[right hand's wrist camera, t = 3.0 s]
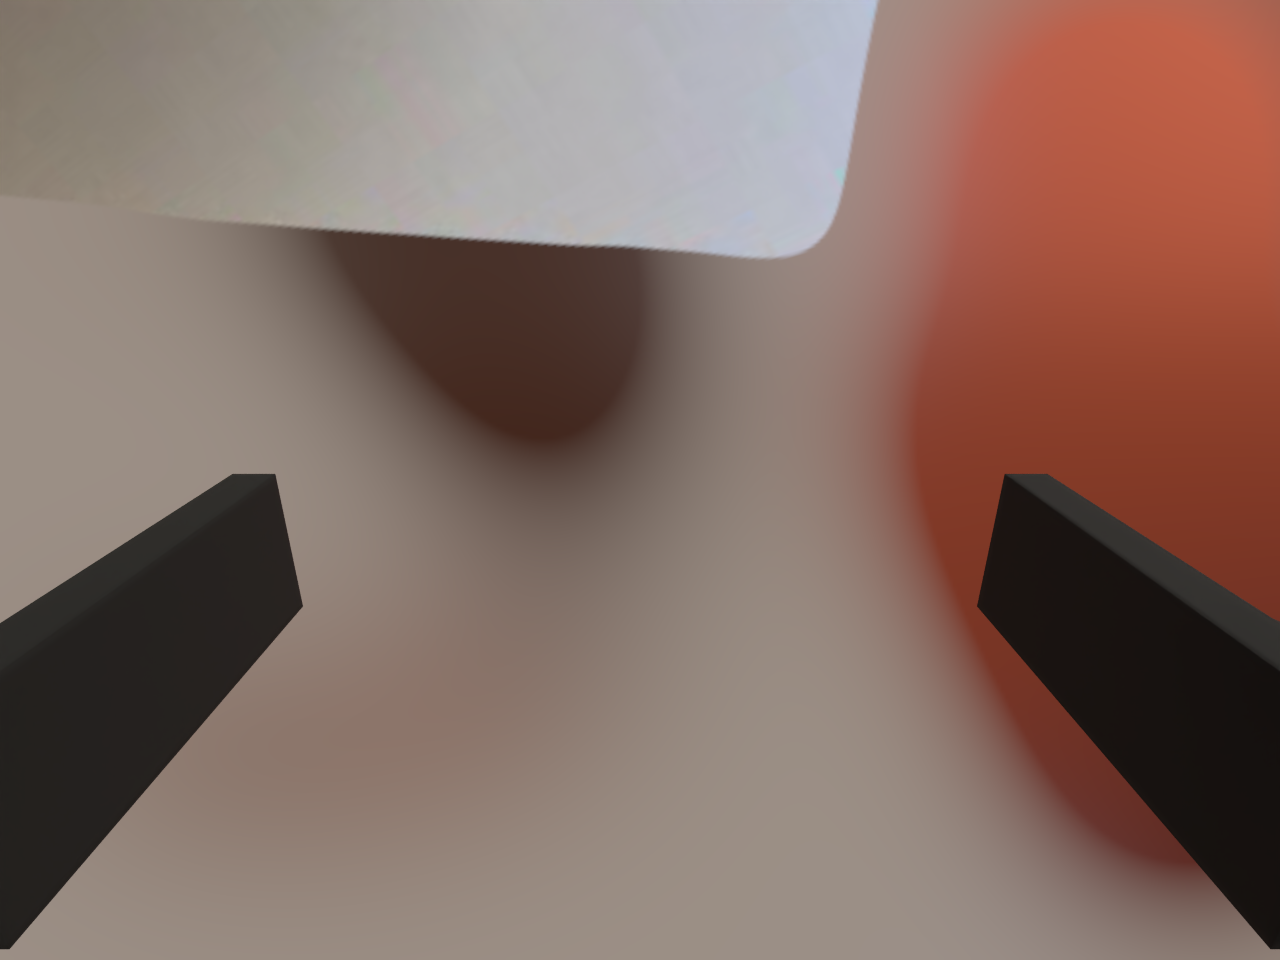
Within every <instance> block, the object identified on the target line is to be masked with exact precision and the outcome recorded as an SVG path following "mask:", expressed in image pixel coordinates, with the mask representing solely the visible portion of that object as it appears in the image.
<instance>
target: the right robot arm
mask: <svg viewBox="0 0 1280 960" xmlns="http://www.w3.org/2000/svg"><path fill="white" fill-rule="evenodd" d="M302 607H303V605H302V600H301V595H300V590H299V585H298V581H297V576H296V571H295V566H294V562H293V557H292V552H291V547H290V542H289V538H288V533H287V528H286V523H285V518H284V514H283V509H282V504H281V500H280V495H279V490H278V485H277V480H276V475H275V474H232V475H230V476H229V477H227V478H226V479H224V480H223V481H221V482H220V483H218V484H216V485H215V486H213V487H212V488H210V489H209V490H207V491H205V492H204V493H202V494H201V495H199V496H198V497H196V498H195V499H193V500H191V501H190V502H188V503H187V504H185V505H184V506H182V507H181V508H179V509H177V510H176V511H174V512H173V513H171V514H170V515H168V516H166V517H165V518H163V519H162V520H160V521H159V522H157V523H156V524H154V525H152V526H151V527H149V528H148V529H146V530H145V531H143V532H142V533H140V534H138V535H137V536H135V537H134V538H132V539H131V540H129V541H128V542H126V543H124V544H123V545H121V546H120V547H118V548H117V549H115V550H114V551H112V552H111V553H109V554H107V555H106V556H104V557H103V558H101V559H100V560H98V561H96V562H95V563H93V564H92V565H90V566H89V567H87V568H86V569H84V570H82V571H81V572H79V573H78V574H76V575H75V576H73V577H72V578H70V579H69V580H67V581H65V582H64V583H62V584H61V585H59V586H57V587H56V588H54V589H53V590H51V591H50V592H48V593H47V594H45V595H43V596H42V597H40V598H39V599H37V600H36V601H34V602H33V603H31V604H30V605H28V606H26V607H25V608H23V609H22V610H20V611H19V612H17V613H15V614H14V615H12V616H11V617H9V618H8V619H6V620H5V621H3V622H1V623H0V949H10V948H11V947H12V946H13V944H14V943H15V942H16V941H17V940H18V939H19V937H20V936H21V935H22V934H23V933H24V932H25V930H26V929H27V928H28V927H29V926H30V924H31V923H32V922H33V921H34V920H35V919H36V918H37V916H38V915H39V914H40V913H41V912H42V911H43V909H44V908H45V907H46V906H47V905H48V904H49V902H50V901H51V900H52V899H53V898H54V897H55V895H56V894H57V893H58V892H59V891H60V889H61V888H62V887H63V886H64V885H65V884H66V882H67V881H68V880H69V879H70V878H71V877H72V875H73V874H74V873H75V872H76V871H77V870H78V868H79V867H80V866H81V865H82V864H83V863H84V861H85V860H86V859H87V858H88V857H89V856H90V854H91V853H92V852H93V851H94V850H95V849H96V847H97V846H98V845H99V844H100V843H101V842H102V840H103V839H104V838H105V837H106V836H107V835H108V833H109V832H110V831H111V830H112V829H113V828H114V826H115V825H116V824H117V823H118V822H119V821H120V819H121V818H122V817H123V816H124V815H125V814H126V812H127V811H128V810H129V809H130V808H131V807H132V805H133V804H134V803H135V802H136V801H137V799H138V798H139V797H140V796H141V795H142V794H143V793H144V791H145V790H146V789H147V788H148V787H149V786H150V784H151V783H152V782H153V781H154V780H155V778H156V777H157V776H158V775H159V774H160V773H161V771H162V770H163V769H164V768H165V767H166V766H167V764H168V763H169V762H170V761H171V760H172V759H173V757H174V756H175V755H176V754H177V753H178V752H179V750H180V749H181V748H182V747H183V746H184V745H185V743H186V742H187V741H188V740H189V739H190V738H191V736H192V735H193V734H194V733H195V732H196V731H197V729H198V728H199V727H200V726H201V725H202V724H203V722H204V721H205V720H206V719H207V718H208V717H209V715H210V714H211V713H212V712H213V711H214V710H215V708H216V707H217V706H218V705H219V704H220V703H221V701H222V700H223V699H224V698H225V697H226V696H227V694H228V693H229V692H230V691H231V690H232V689H233V687H234V686H235V685H236V684H237V683H238V682H239V680H240V679H241V678H242V677H243V676H244V675H245V673H246V672H247V671H248V670H249V669H250V668H251V666H252V665H253V664H254V663H255V662H256V660H257V659H258V658H259V657H260V656H261V655H262V653H263V652H264V651H265V650H266V649H267V648H268V646H269V645H270V644H271V643H272V642H273V641H274V639H275V638H276V637H277V636H278V635H279V634H280V632H281V631H282V630H283V629H284V628H285V627H286V625H287V624H288V623H289V622H290V621H291V620H292V618H293V617H294V616H295V615H296V614H297V613H298V611H299V610H300V609H301V608H302ZM977 607H978V608H979V609H980V610H981V611H982V613H983V614H984V615H985V616H986V617H987V618H988V620H989V621H990V622H991V623H992V624H993V625H994V627H995V628H996V629H997V630H998V631H999V632H1000V634H1001V635H1002V636H1003V637H1004V638H1005V639H1006V641H1007V642H1008V643H1009V644H1010V645H1011V646H1012V648H1013V649H1014V650H1015V651H1016V652H1017V653H1018V655H1019V656H1020V657H1021V658H1022V659H1023V660H1024V662H1025V663H1026V664H1027V665H1028V666H1029V667H1030V669H1031V670H1032V671H1033V672H1034V673H1035V675H1036V676H1037V677H1038V678H1039V679H1040V680H1041V682H1042V683H1043V684H1044V685H1045V686H1046V687H1047V689H1048V690H1049V691H1050V692H1051V693H1052V694H1053V696H1054V697H1055V698H1056V699H1057V700H1058V701H1059V703H1060V704H1061V705H1062V706H1063V707H1064V708H1065V710H1066V711H1067V712H1068V713H1069V714H1070V715H1071V717H1072V718H1073V719H1074V720H1075V721H1076V722H1077V724H1078V725H1079V726H1080V727H1081V728H1082V729H1083V730H1084V732H1085V733H1086V734H1087V735H1088V736H1089V738H1090V739H1091V740H1092V741H1093V742H1094V743H1095V745H1096V746H1097V747H1098V748H1099V749H1100V750H1101V752H1102V753H1103V754H1104V755H1105V756H1106V757H1107V759H1108V760H1109V761H1110V762H1111V763H1112V764H1113V766H1114V767H1115V768H1116V769H1117V770H1118V771H1119V773H1120V774H1121V775H1122V776H1123V777H1124V778H1125V780H1126V781H1127V782H1128V783H1129V784H1130V786H1131V787H1132V788H1133V789H1134V790H1135V791H1136V792H1137V794H1138V795H1139V796H1140V797H1141V798H1142V800H1143V801H1144V802H1145V803H1146V804H1147V805H1148V807H1149V808H1150V809H1151V810H1152V811H1153V812H1154V814H1155V815H1156V816H1157V817H1158V818H1159V819H1160V821H1161V822H1162V823H1163V824H1164V825H1165V826H1166V828H1167V829H1168V830H1169V831H1170V832H1171V833H1172V835H1173V836H1174V837H1175V838H1176V839H1177V840H1178V842H1179V843H1180V844H1181V845H1182V846H1183V847H1184V849H1185V850H1186V851H1187V852H1188V853H1189V854H1190V856H1191V857H1192V858H1193V859H1194V860H1195V861H1196V863H1197V864H1198V865H1199V866H1200V867H1201V868H1202V870H1203V871H1204V872H1205V873H1206V874H1207V875H1208V877H1209V878H1210V879H1211V880H1212V881H1213V882H1214V884H1215V885H1216V886H1217V887H1218V888H1219V889H1220V891H1221V892H1222V893H1223V894H1224V895H1225V897H1226V898H1227V899H1228V900H1229V901H1230V902H1231V904H1232V905H1233V906H1234V907H1235V908H1236V909H1237V911H1238V912H1239V913H1240V914H1241V915H1242V916H1243V918H1244V919H1245V920H1246V921H1247V922H1248V923H1249V925H1250V926H1251V927H1252V928H1253V929H1254V930H1255V932H1256V933H1257V934H1258V935H1259V936H1260V937H1261V939H1262V940H1263V941H1264V942H1265V943H1266V944H1267V946H1268V947H1269V948H1270V949H1280V622H1279V621H1277V620H1275V619H1272V618H1271V617H1269V616H1268V615H1266V614H1265V613H1263V612H1261V611H1260V610H1258V609H1257V608H1255V607H1254V606H1252V605H1251V604H1249V603H1247V602H1246V601H1244V600H1243V599H1241V598H1240V597H1238V596H1237V595H1235V594H1233V593H1232V592H1230V591H1229V590H1227V589H1226V588H1224V587H1223V586H1221V585H1219V584H1218V583H1216V582H1215V581H1213V580H1212V579H1210V578H1208V577H1207V576H1205V575H1204V574H1202V573H1201V572H1199V571H1198V570H1196V569H1194V568H1193V567H1191V566H1190V565H1188V564H1187V563H1185V562H1184V561H1182V560H1180V559H1179V558H1177V557H1176V556H1174V555H1173V554H1171V553H1170V552H1168V551H1166V550H1165V549H1163V548H1162V547H1160V546H1159V545H1157V544H1155V543H1154V542H1152V541H1151V540H1149V539H1148V538H1146V537H1145V536H1143V535H1142V534H1140V533H1138V532H1137V531H1135V530H1134V529H1132V528H1131V527H1129V526H1128V525H1126V524H1124V523H1123V522H1121V521H1120V520H1118V519H1117V518H1115V517H1113V516H1112V515H1110V514H1109V513H1107V512H1106V511H1104V510H1103V509H1101V508H1099V507H1098V506H1096V505H1095V504H1093V503H1092V502H1090V501H1089V500H1087V499H1085V498H1084V497H1082V496H1081V495H1079V494H1078V493H1076V492H1075V491H1073V490H1071V489H1070V488H1068V487H1067V486H1065V485H1064V484H1062V483H1061V482H1059V481H1057V480H1056V479H1054V478H1053V477H1051V476H1050V475H1048V474H1005V475H1004V480H1003V485H1002V490H1001V495H1000V499H999V504H998V509H997V514H996V518H995V523H994V528H993V533H992V538H991V542H990V547H989V552H988V557H987V561H986V566H985V571H984V576H983V581H982V586H981V590H980V595H979V600H978V605H977Z"/></svg>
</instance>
